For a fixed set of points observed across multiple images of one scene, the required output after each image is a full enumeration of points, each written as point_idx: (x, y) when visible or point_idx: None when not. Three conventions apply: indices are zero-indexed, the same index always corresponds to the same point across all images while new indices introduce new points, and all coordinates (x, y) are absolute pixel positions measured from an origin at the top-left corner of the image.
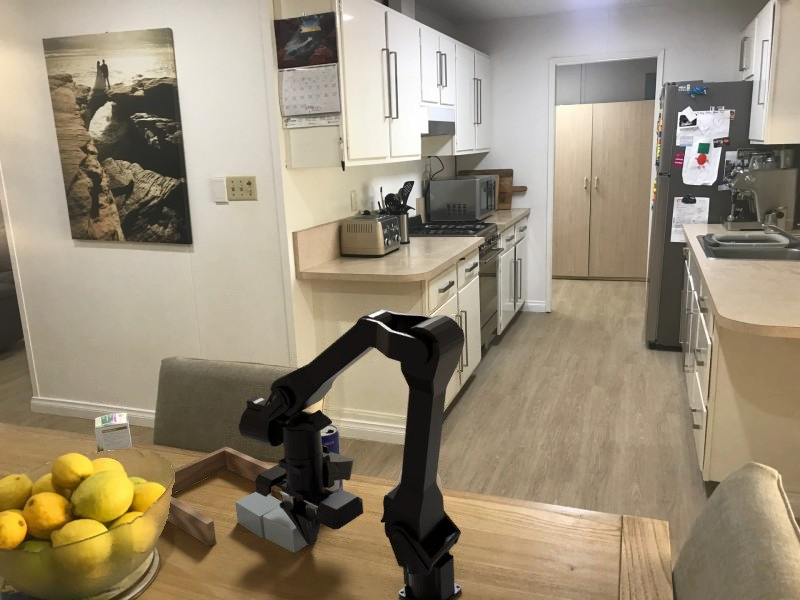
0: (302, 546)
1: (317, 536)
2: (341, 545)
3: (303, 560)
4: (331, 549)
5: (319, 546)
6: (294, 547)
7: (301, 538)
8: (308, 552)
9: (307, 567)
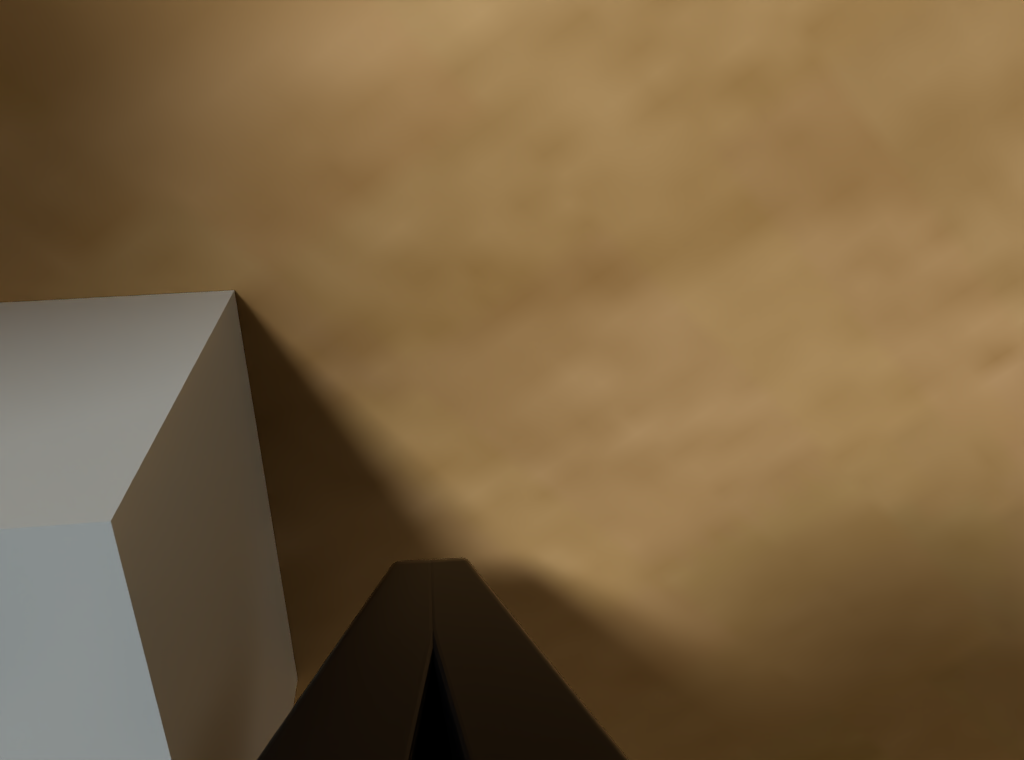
0: (276, 578)
1: (231, 299)
2: (708, 210)
3: None
4: (644, 365)
5: (447, 420)
6: None
7: (258, 677)
8: None
9: (637, 729)
